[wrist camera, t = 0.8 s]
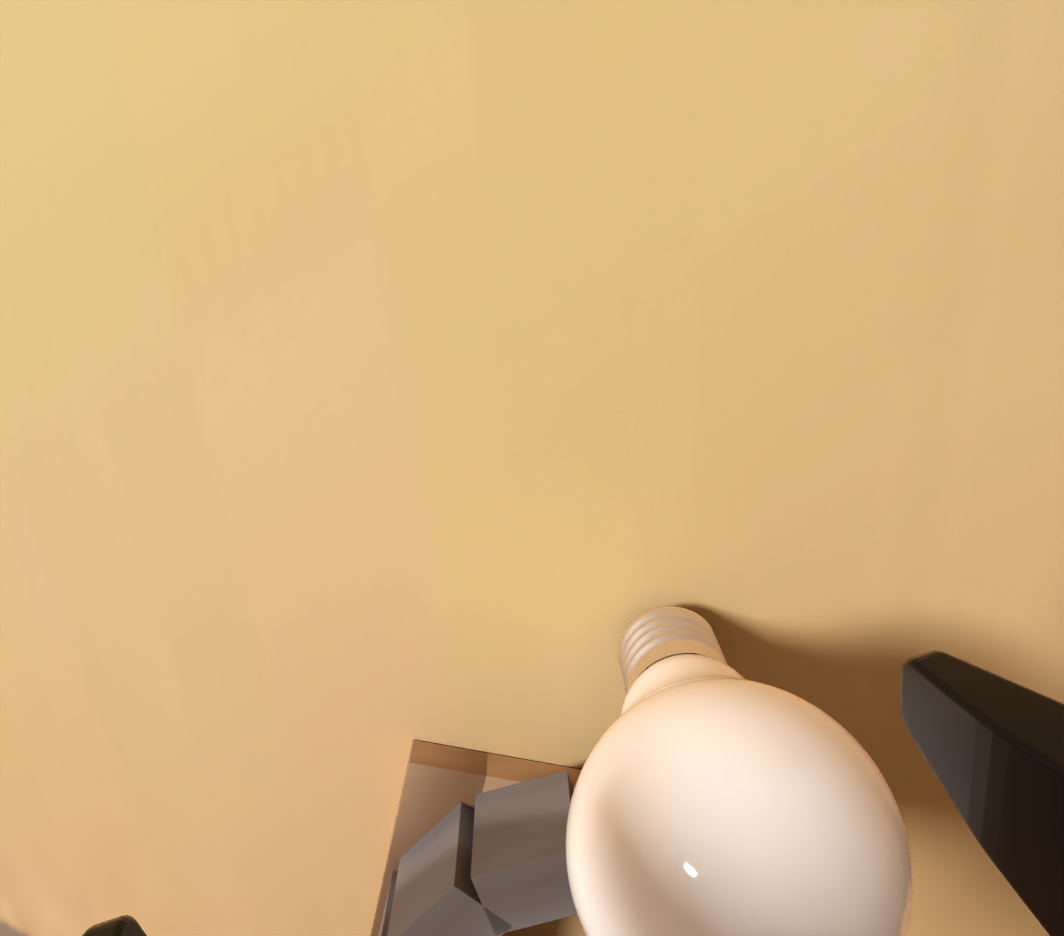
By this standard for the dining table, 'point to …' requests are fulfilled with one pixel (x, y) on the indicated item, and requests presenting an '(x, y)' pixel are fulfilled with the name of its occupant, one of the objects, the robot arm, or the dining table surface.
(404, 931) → the grey stone fire pit
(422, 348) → the dining table surface
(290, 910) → the dining table surface
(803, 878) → the lightbulb
